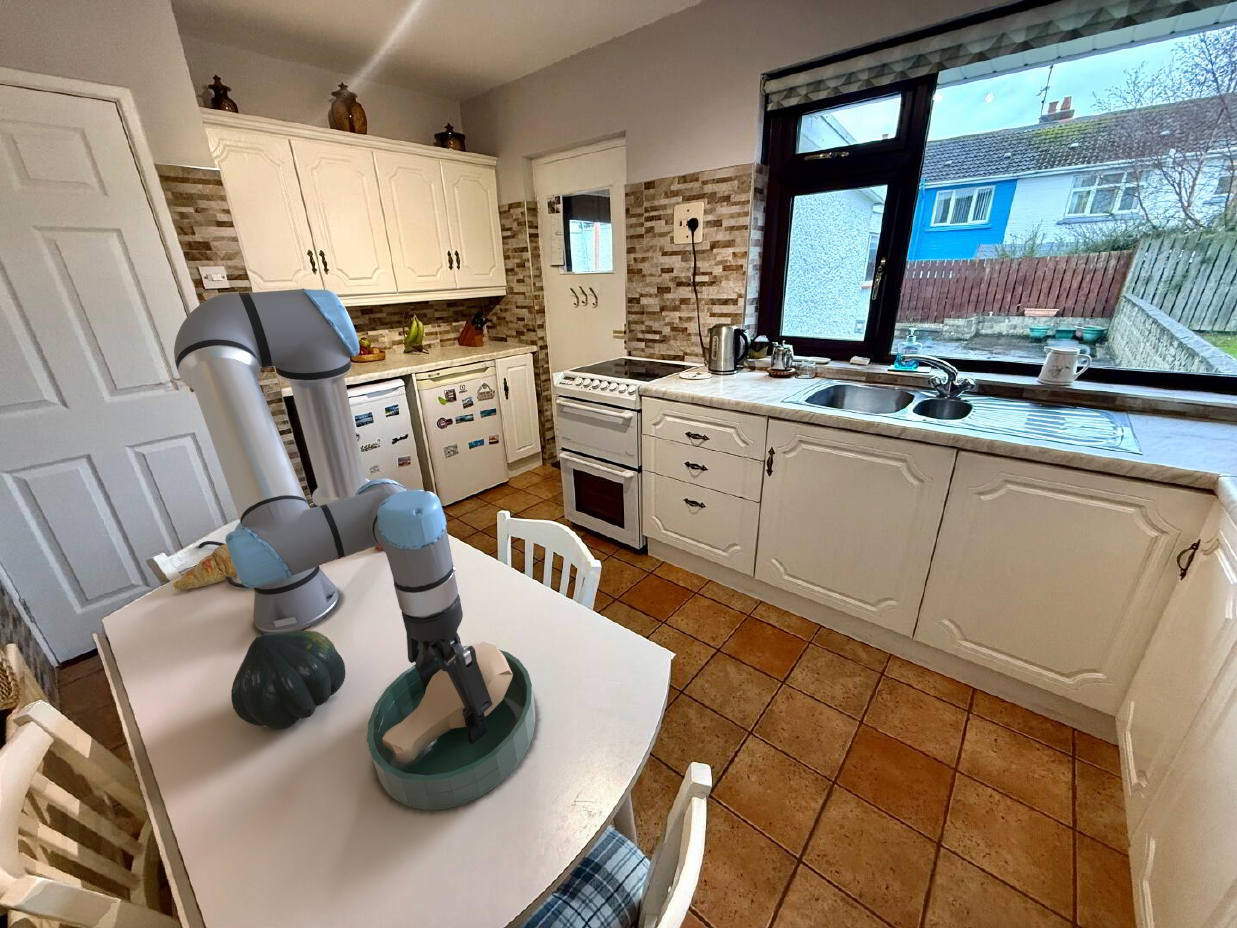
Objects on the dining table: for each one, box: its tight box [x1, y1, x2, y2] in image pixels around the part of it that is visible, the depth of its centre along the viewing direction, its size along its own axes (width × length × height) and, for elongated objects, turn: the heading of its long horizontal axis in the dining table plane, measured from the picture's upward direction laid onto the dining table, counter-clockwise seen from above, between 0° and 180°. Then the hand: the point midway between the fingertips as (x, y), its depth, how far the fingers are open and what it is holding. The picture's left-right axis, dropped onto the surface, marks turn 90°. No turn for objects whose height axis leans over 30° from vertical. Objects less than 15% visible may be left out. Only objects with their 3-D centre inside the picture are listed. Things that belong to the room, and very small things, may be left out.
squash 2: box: [382, 641, 513, 765], centre depth 73 cm, size 11×20×9 cm, turn 140°
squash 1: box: [230, 630, 347, 731], centre depth 79 cm, size 14×15×15 cm
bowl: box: [366, 645, 536, 811], centre depth 74 cm, size 24×24×6 cm
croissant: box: [172, 543, 238, 591], centre depth 116 cm, size 21×10×8 cm, turn 148°
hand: (456, 717), depth 74 cm, fingers closed on squash 2, 10 cm apart
